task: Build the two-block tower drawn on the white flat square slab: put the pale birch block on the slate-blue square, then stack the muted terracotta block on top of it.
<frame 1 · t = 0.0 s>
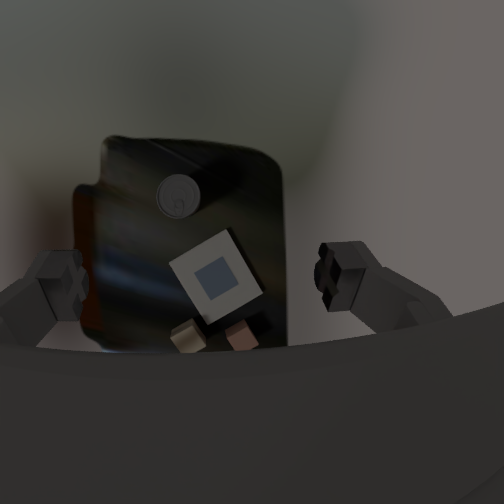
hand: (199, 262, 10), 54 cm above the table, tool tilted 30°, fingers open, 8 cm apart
terracotta block: (240, 333, 67), on the table
birch block: (188, 333, 65), on the table
canned tomato: (182, 200, 62), on the table
white flat square slab: (216, 277, 65), on the table
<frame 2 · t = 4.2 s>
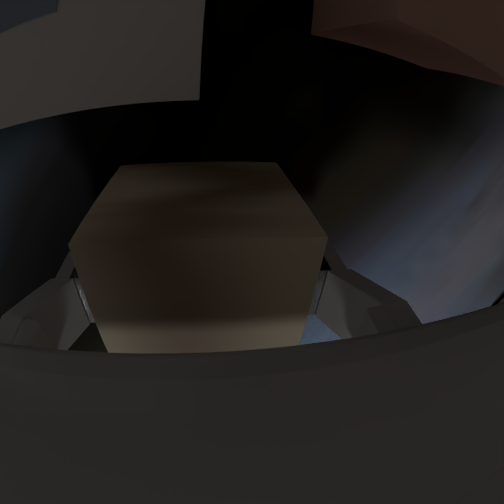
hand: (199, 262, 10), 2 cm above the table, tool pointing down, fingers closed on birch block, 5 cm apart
birch block: (198, 230, 11), on the table, touching gripper
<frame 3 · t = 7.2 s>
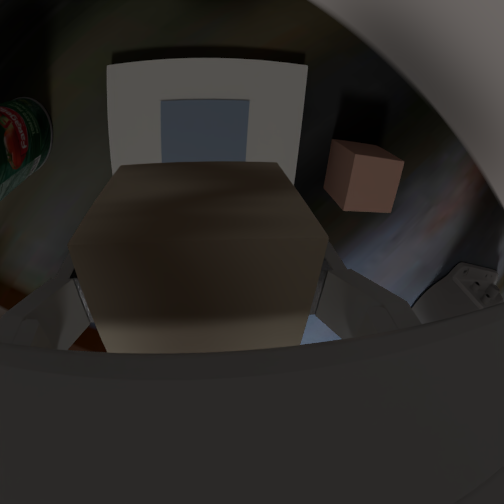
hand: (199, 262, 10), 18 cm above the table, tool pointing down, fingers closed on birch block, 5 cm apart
terracotta block: (350, 165, 27), on the table
birch block: (198, 230, 11), point 15 cm above the table, touching gripper
canned tomato: (22, 135, 20), on the table
white flat square slab: (203, 138, 24), on the table
when the fingers open (5 cm above the table, at t = 10.0 s): birch block drops 1 cm, resting on white flat square slab.
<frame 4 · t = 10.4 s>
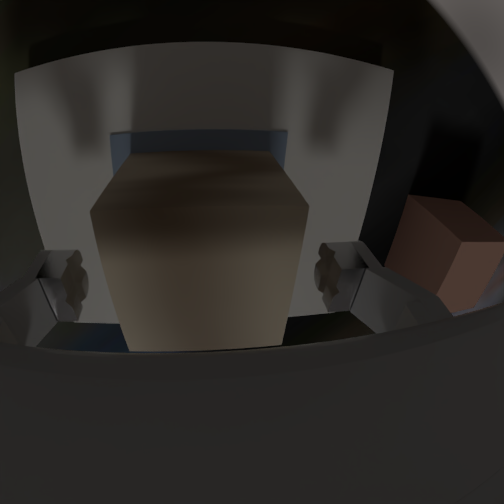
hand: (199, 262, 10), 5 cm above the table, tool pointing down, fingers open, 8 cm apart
terracotta block: (424, 231, 17), on the table
birch block: (199, 212, 13), point 1 cm above the table, touching white flat square slab
white flat square slab: (198, 198, 14), on the table
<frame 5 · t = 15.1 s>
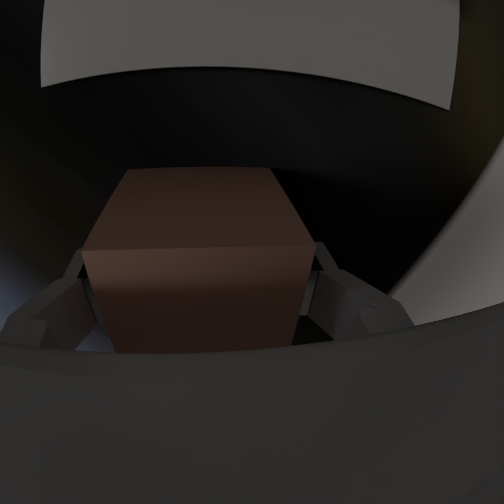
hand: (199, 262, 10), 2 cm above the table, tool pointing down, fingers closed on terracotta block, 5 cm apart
terracotta block: (198, 229, 11), on the table, touching gripper
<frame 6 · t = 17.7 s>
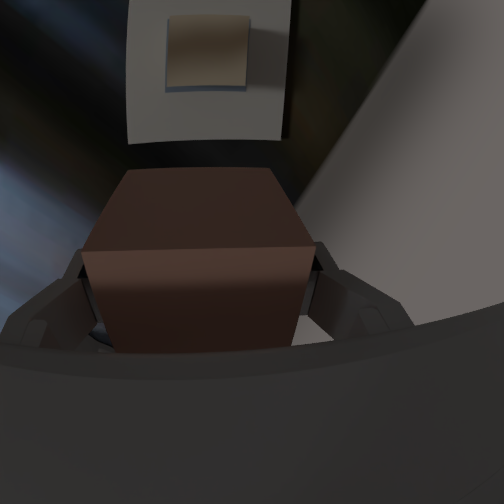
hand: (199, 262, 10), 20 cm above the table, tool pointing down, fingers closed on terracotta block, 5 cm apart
terracotta block: (198, 229, 11), point 18 cm above the table, touching gripper
birch block: (206, 54, 21), point 1 cm above the table, touching white flat square slab
white flat square slab: (206, 54, 22), on the table
when the fingers open (10 cm above the table, at t = 20.4 s): terracotta block drops 1 cm, resting on birch block.
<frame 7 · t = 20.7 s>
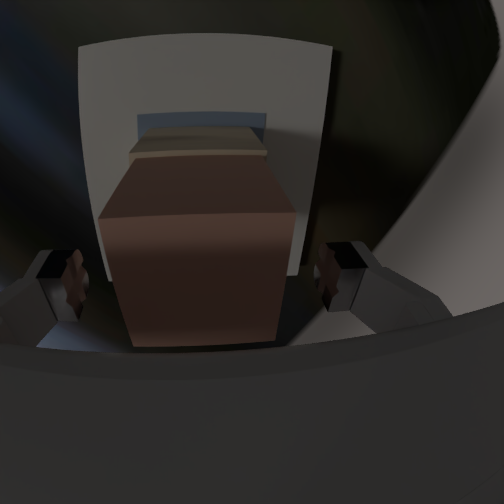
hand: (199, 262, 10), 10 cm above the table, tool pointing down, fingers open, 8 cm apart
terracotta block: (198, 211, 13), point 6 cm above the table, touching birch block
birch block: (198, 172, 17), point 1 cm above the table, touching white flat square slab, terracotta block
white flat square slab: (200, 164, 18), on the table
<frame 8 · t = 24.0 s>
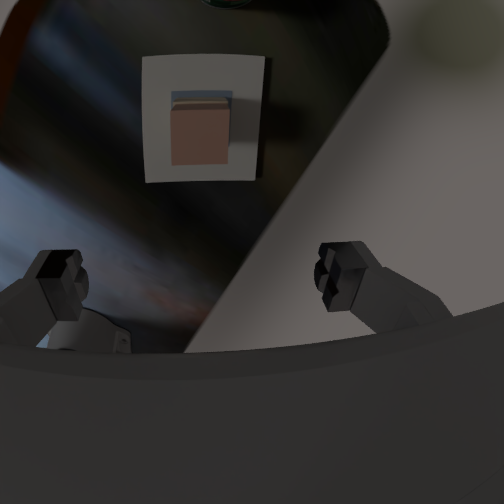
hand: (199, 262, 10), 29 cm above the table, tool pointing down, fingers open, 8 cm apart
terracotta block: (200, 126, 28), point 6 cm above the table, touching birch block
birch block: (200, 119, 32), point 1 cm above the table, touching white flat square slab, terracotta block
white flat square slab: (200, 117, 33), on the table
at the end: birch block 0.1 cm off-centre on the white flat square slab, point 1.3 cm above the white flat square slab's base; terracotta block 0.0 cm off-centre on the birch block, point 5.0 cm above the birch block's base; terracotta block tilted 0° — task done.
